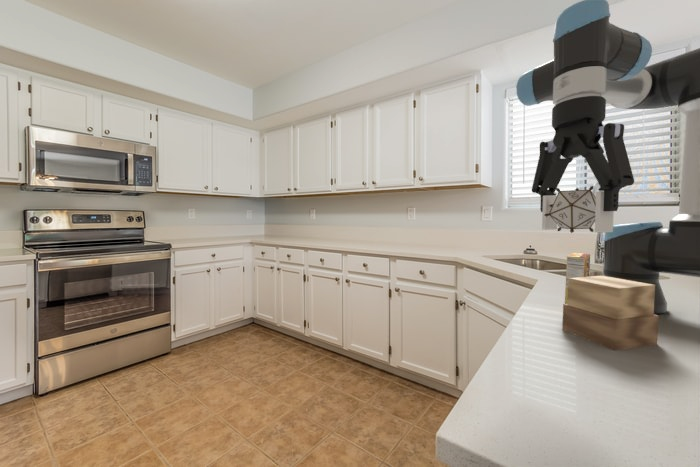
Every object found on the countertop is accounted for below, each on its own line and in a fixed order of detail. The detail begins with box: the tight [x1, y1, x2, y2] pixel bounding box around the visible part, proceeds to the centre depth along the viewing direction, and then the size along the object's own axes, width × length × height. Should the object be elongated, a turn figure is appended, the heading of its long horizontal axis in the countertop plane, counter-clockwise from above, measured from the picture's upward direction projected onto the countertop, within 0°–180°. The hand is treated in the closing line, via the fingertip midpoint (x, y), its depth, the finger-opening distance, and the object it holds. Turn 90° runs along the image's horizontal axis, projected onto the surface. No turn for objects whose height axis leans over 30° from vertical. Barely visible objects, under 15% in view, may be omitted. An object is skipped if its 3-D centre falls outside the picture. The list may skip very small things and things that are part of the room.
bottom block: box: [561, 303, 660, 351], centre depth 66 cm, size 11×11×6 cm
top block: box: [567, 275, 655, 320], centre depth 66 cm, size 10×10×6 cm
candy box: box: [564, 252, 591, 304], centre depth 81 cm, size 9×4×15 cm, turn 138°
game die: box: [544, 185, 596, 234], centre depth 56 cm, size 9×8×10 cm
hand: (574, 230), depth 56 cm, fingers closed on game die, 10 cm apart
